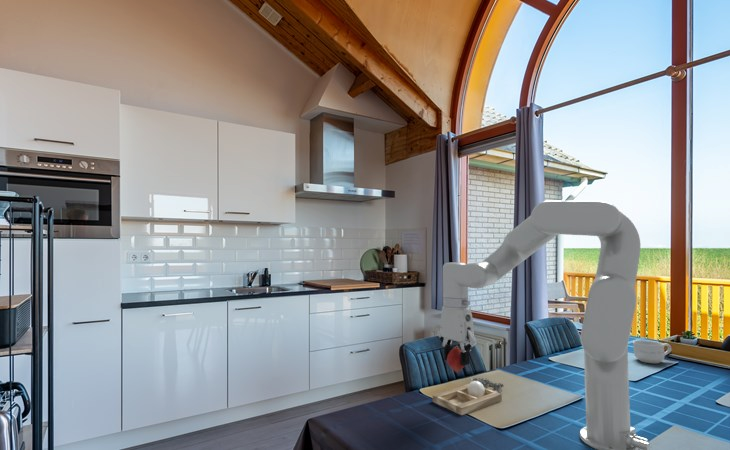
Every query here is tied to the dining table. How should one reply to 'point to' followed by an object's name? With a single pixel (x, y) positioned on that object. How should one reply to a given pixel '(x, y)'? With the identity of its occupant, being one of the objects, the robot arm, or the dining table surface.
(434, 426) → the dining table surface
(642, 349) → the teacup
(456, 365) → the onion
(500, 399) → the holder board
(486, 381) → the grey green leafy sprig
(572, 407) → the dining table surface
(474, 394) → the ceramic egg
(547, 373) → the dining table surface
